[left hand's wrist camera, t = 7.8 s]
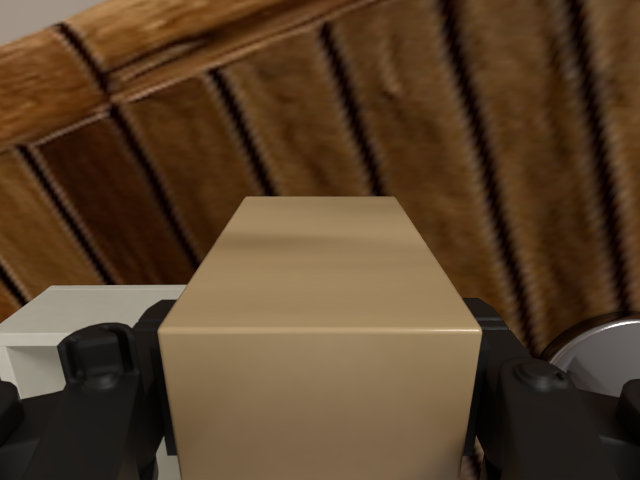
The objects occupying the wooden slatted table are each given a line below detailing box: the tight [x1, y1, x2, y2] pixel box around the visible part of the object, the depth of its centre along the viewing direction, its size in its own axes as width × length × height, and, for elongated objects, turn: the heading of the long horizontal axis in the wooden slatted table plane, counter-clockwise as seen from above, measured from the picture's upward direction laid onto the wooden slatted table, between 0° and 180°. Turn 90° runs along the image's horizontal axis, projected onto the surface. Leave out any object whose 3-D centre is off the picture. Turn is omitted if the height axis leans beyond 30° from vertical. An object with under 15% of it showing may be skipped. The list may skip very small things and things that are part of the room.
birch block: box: [158, 197, 482, 480], centre depth 11 cm, size 5×5×8 cm
